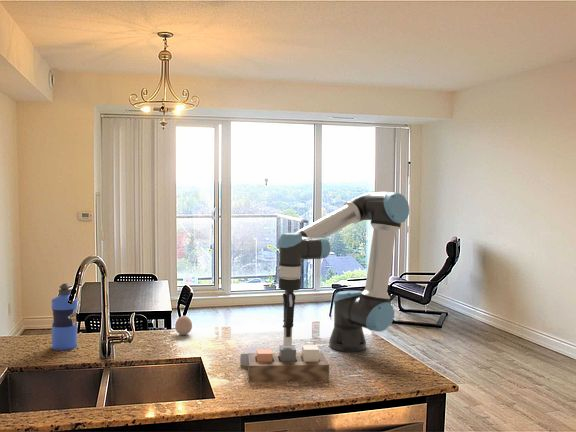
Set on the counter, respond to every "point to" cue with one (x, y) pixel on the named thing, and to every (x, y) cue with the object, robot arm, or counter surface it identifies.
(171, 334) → the counter surface
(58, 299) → the water bottle
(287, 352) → the key graphite
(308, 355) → the key ivory
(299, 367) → the console
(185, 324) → the egg
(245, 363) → the charger
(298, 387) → the counter surface
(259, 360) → the key terracotta
